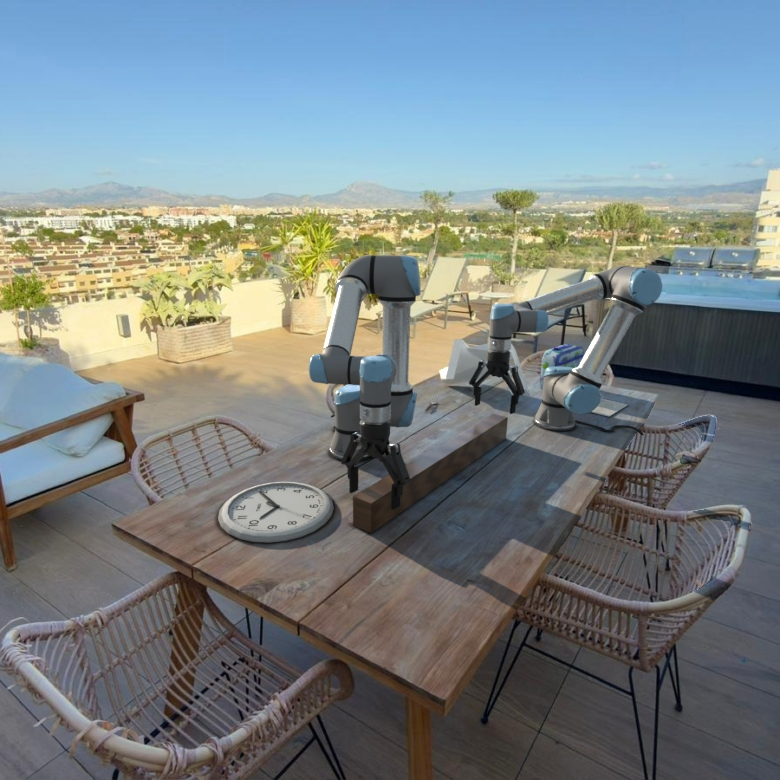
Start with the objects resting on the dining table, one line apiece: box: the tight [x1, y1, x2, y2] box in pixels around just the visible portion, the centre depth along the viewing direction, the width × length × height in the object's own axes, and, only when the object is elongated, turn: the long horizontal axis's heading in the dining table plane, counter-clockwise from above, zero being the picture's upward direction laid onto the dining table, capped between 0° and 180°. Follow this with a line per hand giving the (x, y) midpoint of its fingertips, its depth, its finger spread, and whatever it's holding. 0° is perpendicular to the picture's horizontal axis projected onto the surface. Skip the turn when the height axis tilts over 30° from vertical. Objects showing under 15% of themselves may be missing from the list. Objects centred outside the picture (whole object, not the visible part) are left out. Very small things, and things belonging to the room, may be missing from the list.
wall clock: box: [217, 481, 335, 544], centre depth 139 cm, size 30×2×30 cm
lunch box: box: [539, 344, 585, 391], centre depth 247 cm, size 26×11×21 cm, turn 134°
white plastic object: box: [438, 338, 531, 397], centre depth 245 cm, size 37×45×31 cm
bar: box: [352, 413, 509, 534], centre depth 161 cm, size 78×6×8 cm, turn 143°
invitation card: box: [591, 398, 629, 418], centre depth 226 cm, size 21×1×15 cm
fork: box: [425, 396, 439, 412], centre depth 222 cm, size 3×16×2 cm, turn 160°
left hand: (374, 498), depth 133 cm, fingers open, 13 cm apart
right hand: (494, 408), depth 185 cm, fingers open, 13 cm apart
